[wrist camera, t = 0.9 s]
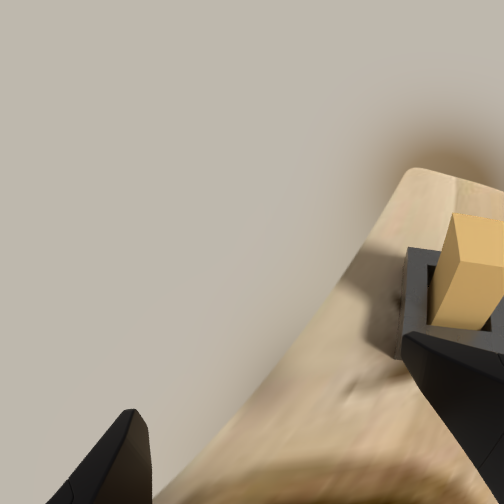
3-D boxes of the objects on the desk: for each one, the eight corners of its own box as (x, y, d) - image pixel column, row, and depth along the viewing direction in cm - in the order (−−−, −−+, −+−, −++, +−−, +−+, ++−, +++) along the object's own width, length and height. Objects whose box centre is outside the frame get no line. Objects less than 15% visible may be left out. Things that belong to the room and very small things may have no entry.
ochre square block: (469, 297, 24) (504, 221, 17) (471, 340, 21) (518, 269, 14) (427, 291, 26) (452, 212, 19) (425, 335, 23) (460, 260, 16)
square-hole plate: (488, 278, 25) (498, 259, 22) (495, 369, 18) (510, 354, 16) (403, 267, 29) (407, 246, 27) (393, 359, 22) (401, 343, 20)
